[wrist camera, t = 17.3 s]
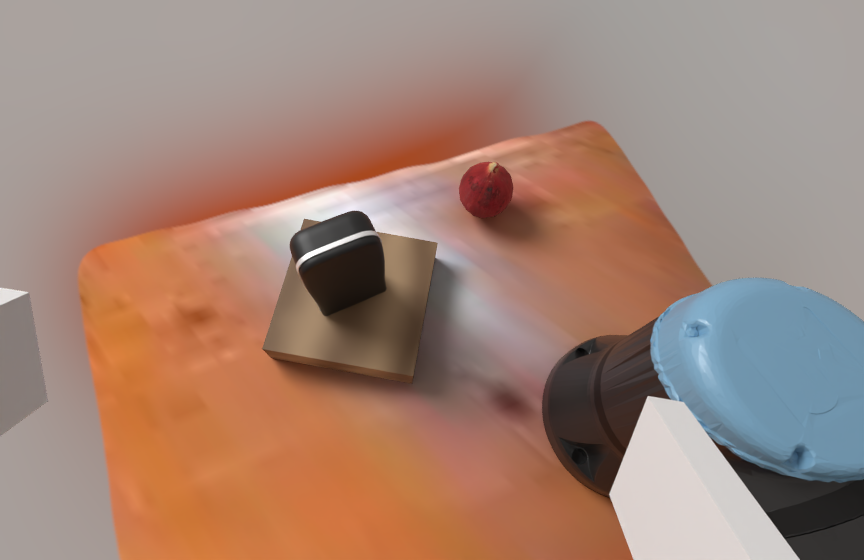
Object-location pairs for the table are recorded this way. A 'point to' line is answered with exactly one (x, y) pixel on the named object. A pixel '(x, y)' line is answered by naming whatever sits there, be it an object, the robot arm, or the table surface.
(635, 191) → the table surface
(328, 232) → the battery charger
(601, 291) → the table surface
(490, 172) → the onion
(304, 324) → the walnut slab
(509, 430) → the table surface
